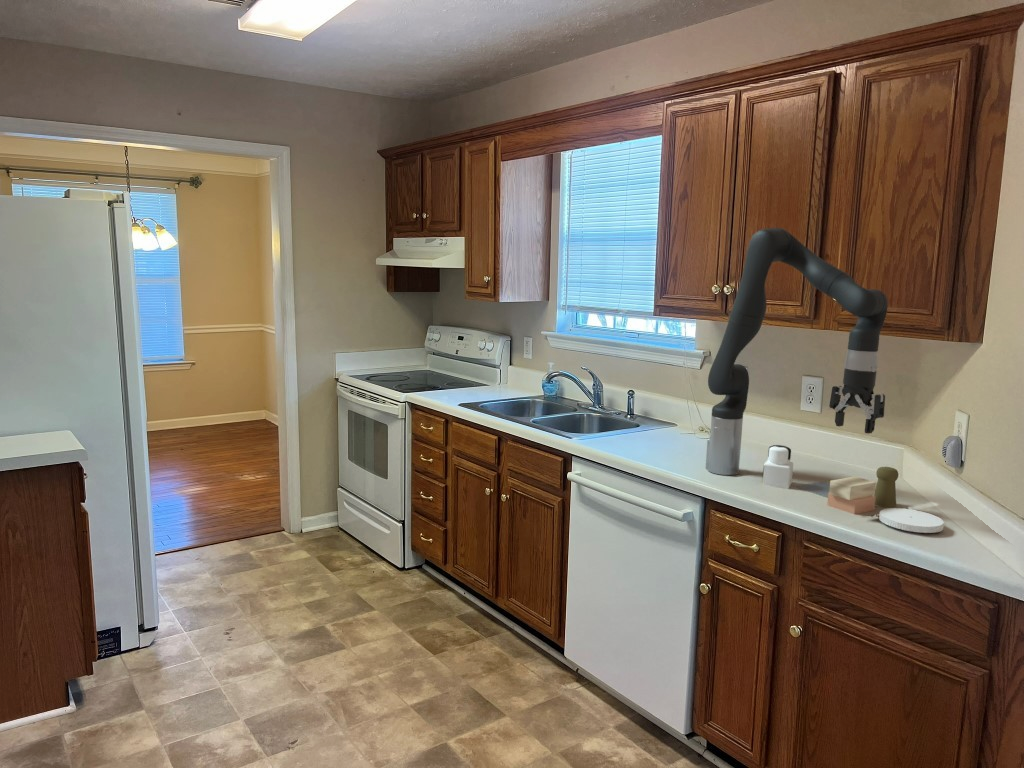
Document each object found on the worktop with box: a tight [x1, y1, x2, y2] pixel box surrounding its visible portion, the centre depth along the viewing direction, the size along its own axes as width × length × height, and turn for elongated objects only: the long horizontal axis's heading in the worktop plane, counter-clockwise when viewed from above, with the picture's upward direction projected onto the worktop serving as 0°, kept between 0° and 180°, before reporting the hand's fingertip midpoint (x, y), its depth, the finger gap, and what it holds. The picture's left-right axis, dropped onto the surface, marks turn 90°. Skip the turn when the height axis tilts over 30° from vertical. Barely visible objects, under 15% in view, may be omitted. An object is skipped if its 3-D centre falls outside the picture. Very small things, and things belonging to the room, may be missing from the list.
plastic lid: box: [878, 507, 945, 534], centre depth 184 cm, size 14×14×2 cm
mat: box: [792, 481, 830, 499], centre depth 210 cm, size 12×12×1 cm
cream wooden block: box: [829, 476, 877, 500], centre depth 193 cm, size 6×10×4 cm, turn 119°
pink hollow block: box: [826, 492, 876, 515], centre depth 194 cm, size 8×8×4 cm
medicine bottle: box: [761, 444, 794, 490], centre depth 214 cm, size 7×7×12 cm
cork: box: [874, 466, 899, 509], centre depth 197 cm, size 6×6×11 cm
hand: (853, 429), depth 194 cm, fingers open, 8 cm apart
